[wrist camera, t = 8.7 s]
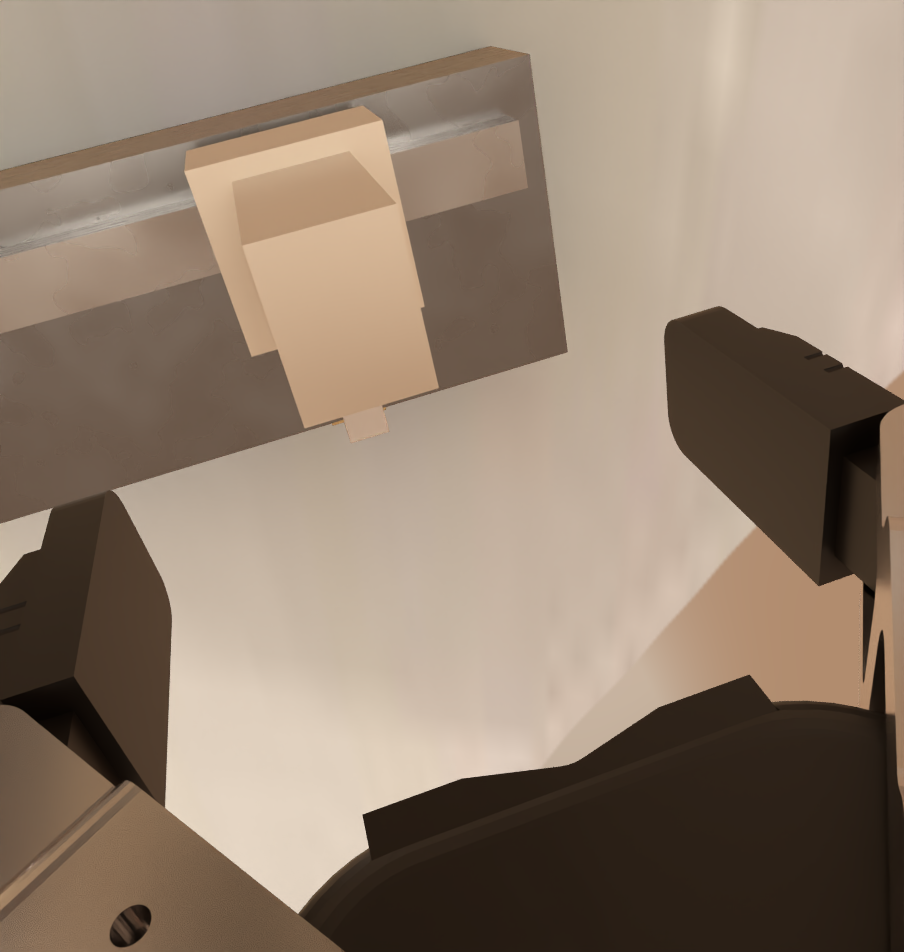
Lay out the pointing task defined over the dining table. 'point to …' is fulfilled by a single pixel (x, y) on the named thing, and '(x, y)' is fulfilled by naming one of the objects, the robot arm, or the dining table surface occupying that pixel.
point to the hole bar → (207, 299)
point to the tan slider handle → (319, 262)
